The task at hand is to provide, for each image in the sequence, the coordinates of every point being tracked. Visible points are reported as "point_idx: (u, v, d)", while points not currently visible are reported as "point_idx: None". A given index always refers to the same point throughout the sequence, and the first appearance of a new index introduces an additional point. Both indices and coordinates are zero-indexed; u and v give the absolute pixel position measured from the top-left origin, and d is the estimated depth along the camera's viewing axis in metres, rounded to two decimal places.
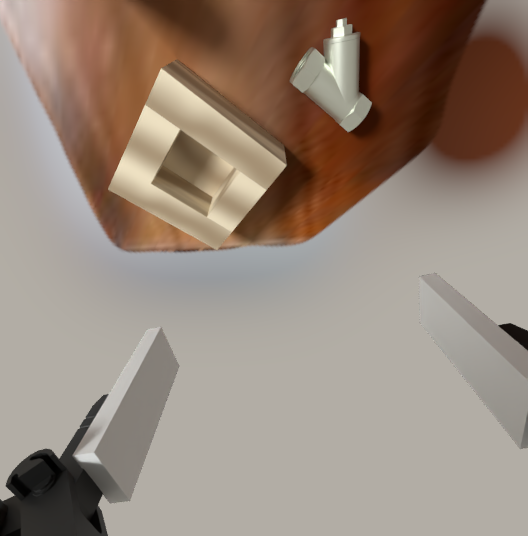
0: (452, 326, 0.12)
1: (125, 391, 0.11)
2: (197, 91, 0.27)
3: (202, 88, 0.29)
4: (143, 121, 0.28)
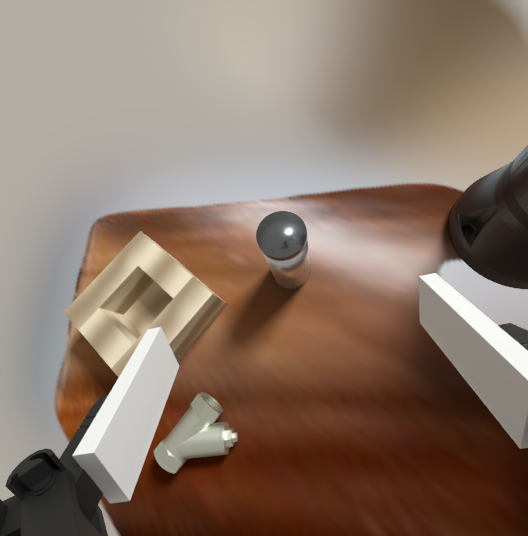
0: (452, 326, 0.12)
1: (125, 391, 0.11)
2: (198, 316, 0.35)
3: (203, 320, 0.37)
4: (182, 272, 0.36)
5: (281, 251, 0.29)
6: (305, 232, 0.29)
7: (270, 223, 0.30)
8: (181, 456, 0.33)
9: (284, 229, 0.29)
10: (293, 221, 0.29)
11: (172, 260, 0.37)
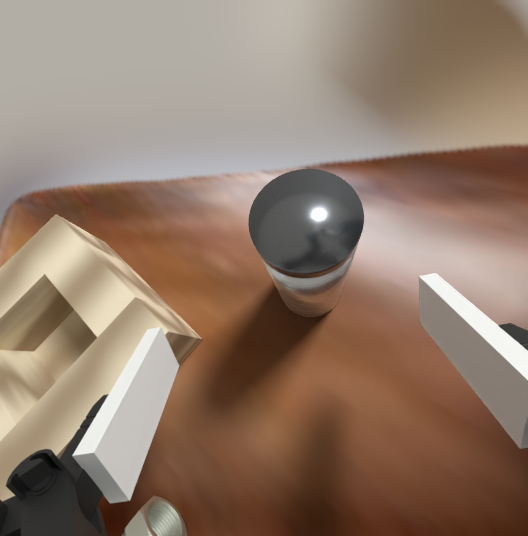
0: (452, 325, 0.12)
1: (125, 391, 0.11)
2: None
3: None
4: (117, 288, 0.20)
5: (305, 258, 0.12)
6: (361, 215, 0.13)
7: (280, 195, 0.13)
8: None
9: (312, 208, 0.13)
10: (332, 190, 0.13)
11: (102, 266, 0.21)
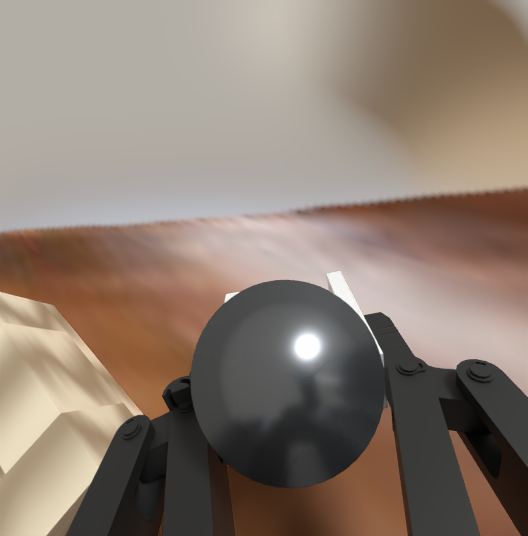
0: None
1: None
2: (69, 521, 0.14)
3: None
4: (38, 399, 0.15)
5: (283, 458, 0.07)
6: (379, 376, 0.07)
7: (243, 326, 0.08)
8: None
9: (295, 355, 0.08)
10: (329, 323, 0.08)
11: (22, 364, 0.16)
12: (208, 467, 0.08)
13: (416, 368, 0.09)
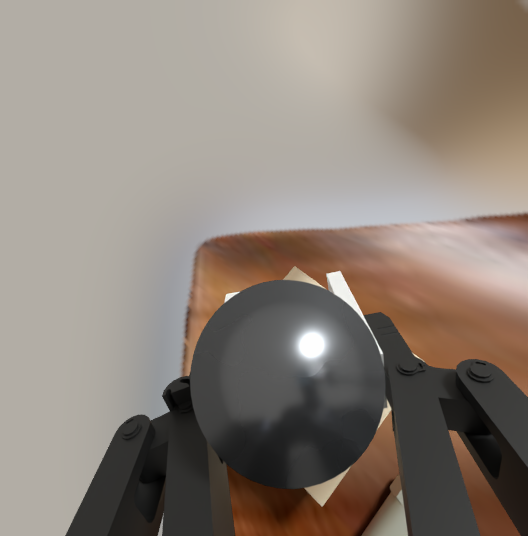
0: None
1: None
2: None
3: None
4: None
5: (283, 458, 0.07)
6: (380, 377, 0.07)
7: (243, 327, 0.08)
8: None
9: (295, 356, 0.08)
10: (329, 324, 0.08)
11: None
12: (208, 467, 0.08)
13: (416, 368, 0.09)
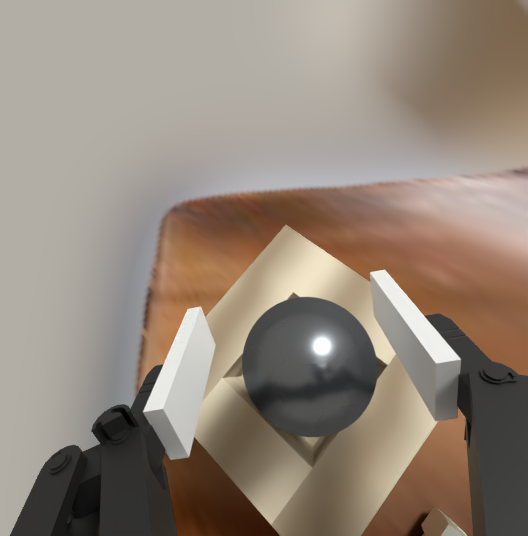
0: (391, 316, 0.13)
1: (179, 360, 0.12)
2: None
3: None
4: None
5: (310, 418, 0.10)
6: (374, 363, 0.11)
7: (279, 329, 0.12)
8: None
9: (316, 349, 0.11)
10: (339, 328, 0.11)
11: (367, 283, 0.19)
12: (146, 494, 0.08)
13: (505, 377, 0.08)
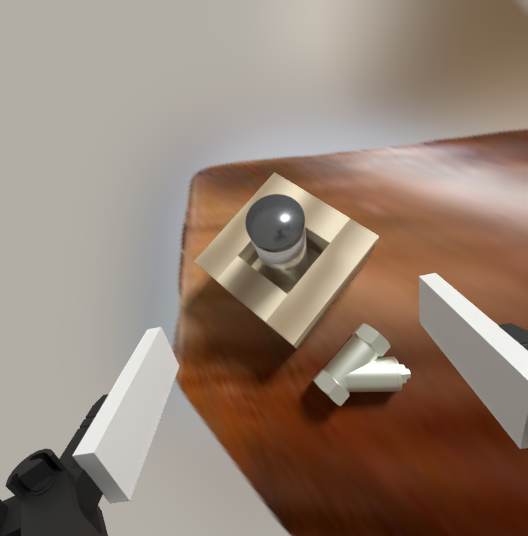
0: (452, 326, 0.12)
1: (125, 391, 0.11)
2: (358, 264, 0.31)
3: (355, 271, 0.33)
4: (335, 214, 0.32)
5: (274, 241, 0.24)
6: (303, 219, 0.24)
7: (262, 208, 0.25)
8: (349, 387, 0.29)
9: (278, 215, 0.25)
10: (289, 206, 0.25)
11: (320, 202, 0.32)
12: None
13: None
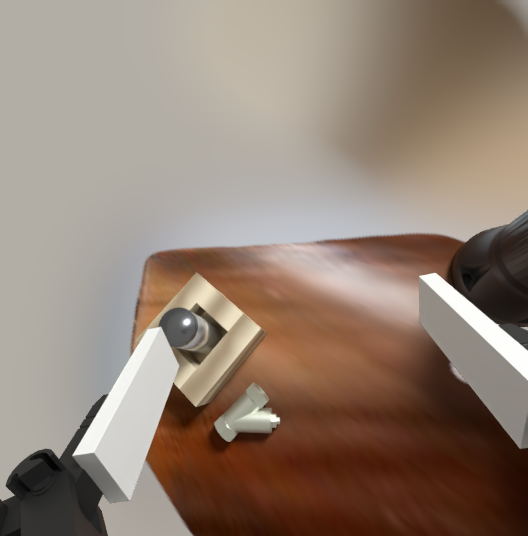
0: (452, 325, 0.12)
1: (125, 391, 0.11)
2: (248, 346, 0.44)
3: (250, 348, 0.46)
4: (234, 309, 0.45)
5: (174, 341, 0.37)
6: (194, 327, 0.37)
7: (170, 317, 0.38)
8: (236, 429, 0.42)
9: (179, 323, 0.38)
10: (187, 317, 0.38)
11: (225, 299, 0.45)
12: None
13: None
